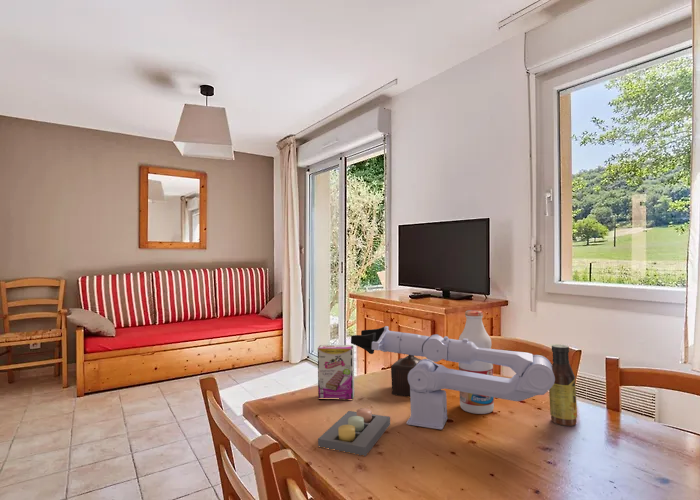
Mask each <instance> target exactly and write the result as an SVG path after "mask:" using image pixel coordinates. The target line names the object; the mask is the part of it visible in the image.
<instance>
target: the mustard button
mask: <svg viewBox="0 0 700 500" xmlns="http://www.w3.org/2000/svg"><path fill="white" fill-rule="evenodd" d="M338 432H339V440H340V441H345V442H351V443H353V441H354V440H355V427H354V426H352V425H342V426H340V427H339V428H338Z"/></svg>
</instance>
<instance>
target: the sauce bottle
mask: <svg viewBox="0 0 700 500" xmlns="http://www.w3.org/2000/svg"><path fill="white" fill-rule="evenodd" d="M551 352H552V362H553V363H551V365H552V371H553V373H554V376H555V382H554V385H553V386H552V387H551V388H550V389H549V390H548V392H549V393H548V394H549V397H548V398H549V411H550V412H549V414H550V418H551V421H552V423H554V424H556V425H559V426H564V427H572V426H575V425H576V424H577V423H578V422H577V418H578V410H577V409H578V406H577V405H578V404H577V388H576V376H575V374H574V372H573V369H572V366H571V364H570V360H569V358H570V357H569V352H570V347H569V346H568V345H565V344H552V345H551Z"/></svg>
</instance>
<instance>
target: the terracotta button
mask: <svg viewBox="0 0 700 500" xmlns="http://www.w3.org/2000/svg"><path fill="white" fill-rule="evenodd" d="M356 412H357V416H361V417H363V418H364V423H369V422H371V421H372V414H373V411H372V409H370V408H368V407H362V408H358V409H356Z"/></svg>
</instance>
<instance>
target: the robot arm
mask: <svg viewBox="0 0 700 500" xmlns="http://www.w3.org/2000/svg"><path fill="white" fill-rule="evenodd" d="M389 328H390V327H389V326H387V325H385V326H382V327H378V328H374V329H363V330H361V331H360V332H361V333H360V334H354V335H351V336H350V345H353V346H356V347H359V348H361V349H363V350H364V351H366V352H367V353H368V354H370V355H373V354H374V353H375V351H381V352H383V353H387V352H388V353H393V354H394V353H395V354H400V355H401V354H402V355H406V356H408V355H413V356H414V357H422V359H421V360H420V361H419V362H418V363H417V364H416V366H415V367H414V368H413V369H411V370H410V372H409V373H408V383H409V385H410V397H409V398H410V401H409V402H410V416H409V418H408V419H407V421H406V423H405V424H406V425H408V426H414V427H415V426H416V427H420V428H421V427H422V428H428V429H436V430H443V429H444V426H445V425H446V423H447V420H448V407H447V406H448V404H447V403H448V402H447V391H446V390H445V389H447V390H451V391H458V392H460V391H462V392H467V393H473V394H478V395H484V396H489V397H494V398H495V399H499V400H500V399H502V400H507V401H512V402H521V401H525V400H527V399H531V398H533V397H536V396H544V395H545V394H546V393H547V392H549V389H550V388H551V387H552V386H553V385H554V382H555V376H554V373H553V371H552V363H551V361H550V359H548V358H547V357H545V356H544V355H539V354H533V353H531V352H524V351H514V350H505V349H504V350H503V349H497V348H496V349H495V348H491V349H487V348H478V347H477V346H476V345H475V344H474V343H473V342H470V341H468V339H466V338H463V340H459V339H454V338H449V336H447V335H446V336H444V337H443V336H441V335H440V334H437V333H436V334H432V335H429V336H428V335H422V334H418V333H412V332H411V333H409V332H403V331H402V332H401V331H394V330H389ZM424 357H425V358H424ZM441 360H445V361H446V362H447V361H448V362H454V363H458V364H459V363H464V364H472V363H474V362H475V361H482V362H486V363H491V364H493V365H495V366H502V367H507V368H510V369H511V370H512V371H513V372H514V373H515V374H514V375H513V376H512V377H503V376H497V375H493V376H492V375H485V374H479V373H473V372H467V371H461V370H459V369H455V368H454V369H453V368H448V367H446V366H444V365H443V364H438V363H437V362H440V361H441Z"/></svg>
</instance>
